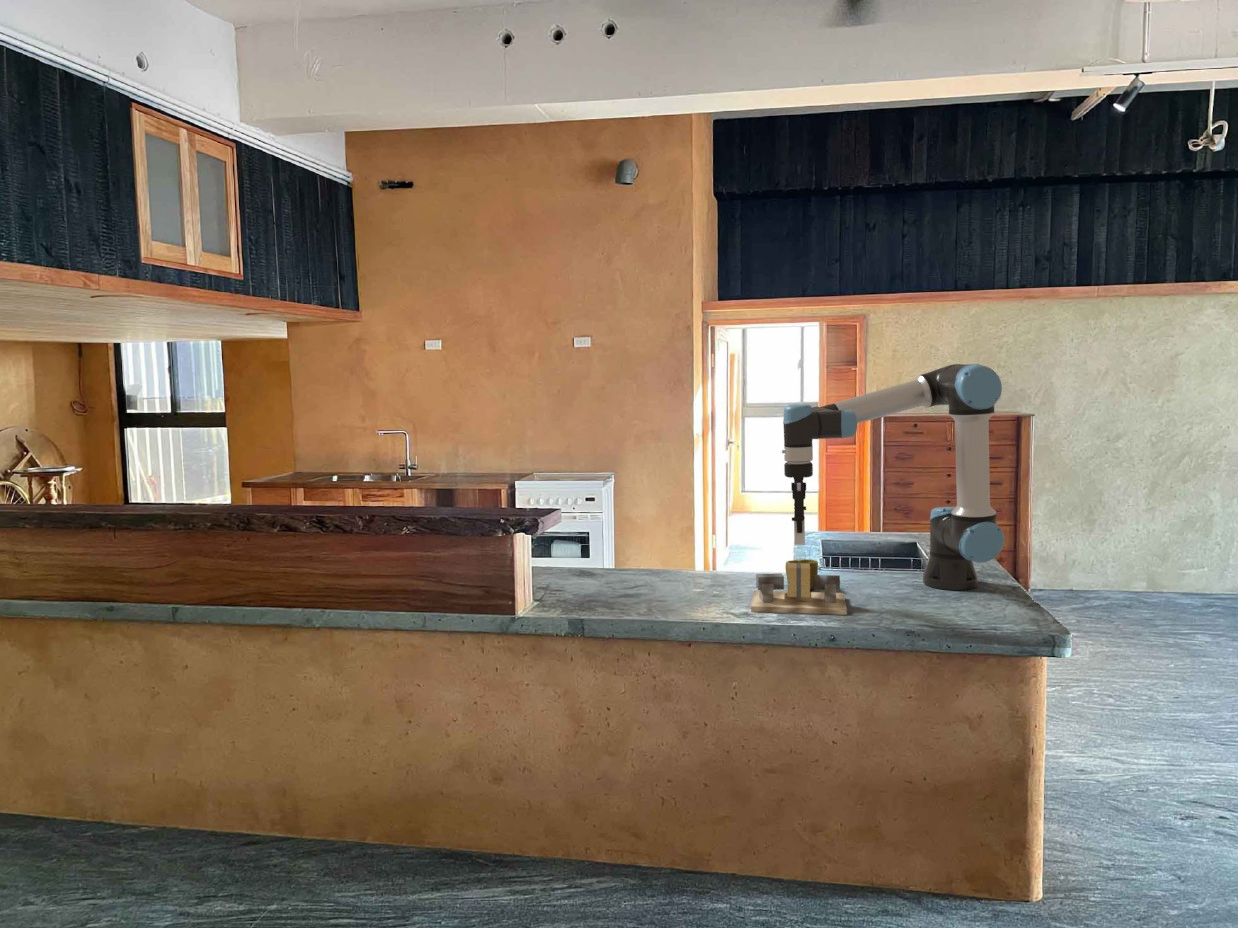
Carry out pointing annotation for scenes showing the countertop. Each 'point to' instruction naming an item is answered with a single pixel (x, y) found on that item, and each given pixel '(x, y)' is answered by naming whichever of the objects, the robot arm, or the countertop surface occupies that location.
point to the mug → (812, 568)
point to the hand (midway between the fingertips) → (799, 539)
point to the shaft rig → (811, 605)
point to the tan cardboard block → (798, 579)
